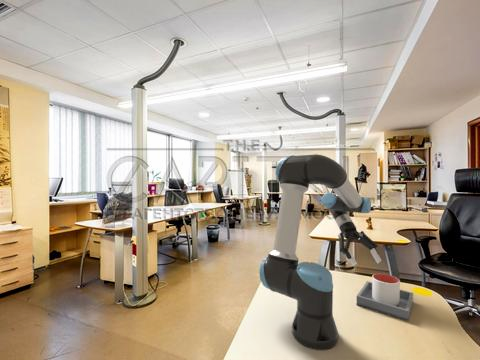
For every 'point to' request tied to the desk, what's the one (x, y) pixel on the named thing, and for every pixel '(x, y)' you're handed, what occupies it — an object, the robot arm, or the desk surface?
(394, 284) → the cup
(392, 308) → the tray
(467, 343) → the desk surface
